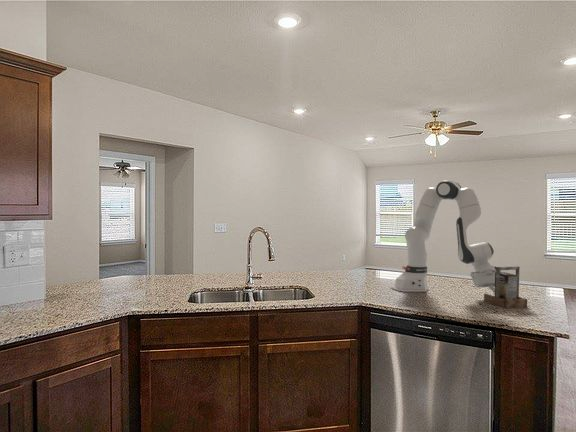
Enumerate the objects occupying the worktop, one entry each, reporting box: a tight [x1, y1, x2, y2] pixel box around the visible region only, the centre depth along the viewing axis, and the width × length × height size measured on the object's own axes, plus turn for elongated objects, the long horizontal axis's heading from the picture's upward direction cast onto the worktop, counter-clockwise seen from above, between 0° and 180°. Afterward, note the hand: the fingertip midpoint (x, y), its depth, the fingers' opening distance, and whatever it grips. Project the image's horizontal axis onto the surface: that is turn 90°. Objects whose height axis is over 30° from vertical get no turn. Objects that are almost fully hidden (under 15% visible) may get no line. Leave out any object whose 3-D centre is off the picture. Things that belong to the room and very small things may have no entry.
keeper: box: [483, 266, 528, 309], centre depth 215 cm, size 13×15×20 cm
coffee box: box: [494, 271, 517, 300], centre depth 216 cm, size 9×6×16 cm
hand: (497, 292), depth 221 cm, fingers closed, pressing on coffee box
